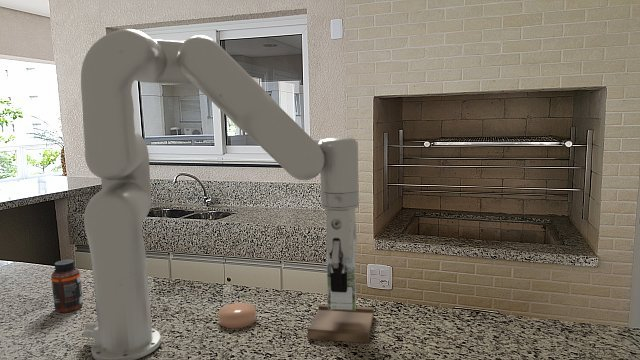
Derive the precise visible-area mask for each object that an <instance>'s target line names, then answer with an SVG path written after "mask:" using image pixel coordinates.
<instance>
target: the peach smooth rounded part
mask: <svg viewBox="0 0 640 360" xmlns="http://www.w3.org/2000/svg"><path fill="white" fill-rule="evenodd" d="M218 322H219V323H218V324H219V325H220V326H222V327H223V328H227V329H242V328H247V327H250V326H252V325H253V324H255V322H257V307H256V305H254V304H253V303H247V302H235V303H230V304H229V303H228V304H226V305H224V306H222V307H221V308H219V309H218Z"/></svg>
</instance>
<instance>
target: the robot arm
mask: <svg viewBox="0 0 640 360" xmlns="http://www.w3.org/2000/svg"><path fill="white" fill-rule="evenodd" d="M134 82H141V83H151V84H170V85H171V84H172V85H173V84H174V85H176V84H177V85H193V86H195V87H196V88H197V90H199V91H200V92H201V93H202V94H203V95H205V97H206V98H208V99H209V100H210V101H211V102H212V103H213V104H214V105H215V106H216V107H217V108H218V109H219V110H220V111H221V112H222V113H223V114H224V116H226V117H227V118H228V119H229V120H230V121H231V122H232V123H233V124H234V125H235V126H236V127H238V128H239V129H240V131H242V132H244V133H245V134H247V135H248V136H249V137H250V138H251V139H252V140H253V141H255V143H256V144H257V145H258V146H260V147H261V148H262V150H263V151H265V152H266V153H267V154H268V156H270V157H271V158H272V159H273V160H274V161H275V162H276V164H277V163H278V165H279V166H280V167H281V168H282V169H284V171H285V172H286V173H287V174H289V175H290V176H291V177H292V178H294V179H295V180H299V181H309V180H313V179H314V178H316V177H317V176H319V175H320V199H321V200H320V203H321V204H320V205H321V209H323V210H326V219H325V221H326V222H325V223H326V224H325V228H326V231H325V232H326V233H325V234H326V235H325V236H326V242H327V243H326V244H327V250H326V257H327V256H328V257H329V258H330V259H331V272H330V274H331V291H332V292H347V272H345V266H346V258H348V259H351V258H352V257H353V241H354V239H355V252H356V250H357V248H358V239H357V221H356V219H357V218H356V217H357V216H356V209H358V208H359V206H360V204H359V203H360V198H359V196H360V193H359V192H360V191H359V189H360V188H359V186H360V185H359V183H360V182H359V144H358V141H357V140H356V139H355V138H354V137H348V136H346V137H345V136H339V137H337V136H336V137H326V138H312V137H311V136H310V135H309V134H308V133H307V132H306V131H305V130H304V129H303V128H302V126H300V125H299V124H298V123H297V122H296V121H295V120H294V119H293V118H292V117H291V116H290V115H288V113H287V112H286V111H285V110H284V109H283V108H282V107H281V106H280V105H279V104H278V103H277V102H276V101H275V100H274V97H272V95H270V94H269V93H268V92H267V91H266V89H264V88H263V87H262V86H261V85H260V84H259V83H258V82H257V81H256V80H255V79H254V78H253V77H252V76H251V75H250V74H249V73H248V72H247V71H246V70H245V69H244V68H243V67H242V66H241V65H240V64H239V63H238V62H237V61H236V60H235V59H234V58H233V57H232V56H231V55H230V54H229V53H228V52H227V51H226V50H225V48H223V47H222V46H221V45H220V44H219V43H218V42H217V41H216V40H215V39H212V38H211V37H209V36H206V35H201V34H200V35H199V34H198V35H194V36H191V37H189V38H187V39H186V40H185V41H180V40H168V39H167V40H165V39H164V40H163V39H153V38H152V37H151V36H149V35H147V34H146V33H144V32H142V31H140V30H136V29H131V28H125V29H124V28H122V29H117V30H115V31H111V32H109V33H107V34H105V35H103V36H102V37H101V38H99V39H98V40H96V41H95V42H94V44H92V46H91V47H90V48H89V50H88V51H87V52H86V54H85V56H84V59H83V62H82V65H81V70H80V91H81V102H82V103H81V105H82V125H83V126H82V127H83V139H84V141H83V142H84V158H85V163H86V166H87V168H88V169H89V171H90V172H91V173H92V175H94V176H95V177H97V178H99V179H100V180H101V181H100V183H101V190H99V191H98V192H96V193H95V194H94V195H93V196H92V197H91V198H90V200H89V201H88V202H87V205H86V206H85V210H84V215H83V222H84V230H85V233H86V238H87V242H88V246H89V252H90V260H91V268H92V276H93V278H92V279H93V286H94V299H95V306H96V319H97V320H96V321H97V322H92V321H91V322H87V323H86V325H85V326H84V327H85V330H84V331H83V333H82V336H83V337H84V338H93V340H94V343H93V344H92V346H91V347H90V348H91V350H90V352H91V356H92V358H93V359H94V360H138V359H141V358H144V357H146V356H148V355H150V354H151V353H153V352H154V351H156V350H157V349H158V348H159V346H161V343H162V336H161V333H160V332H159V331H158V330H157V329H154V328H153V326H152V325H153V324H152V312H151V304H150V303H151V302H150V301H151V300H150V287H149V277H148V263H147V253H146V251H147V250H146V246H145V240H144V234H143V225H142V223H143V221H144V220H145V219H147V216H148V215H149V212H150V210H151V206H152V190H151V173H150V172H151V171H150V156H149V155H150V154H149V149H148V145H147V142H146V140H145V139H144V138H143V136H142V135H141V134H140V133H139V132H138V131H136V127H135V118H134V114H135V111H134V101H133V94H132V87H133V83H134ZM340 245H341V246H340ZM331 251H332V253H331ZM330 253H331V254H330ZM339 254H343V257H339ZM339 260H341V261H342V264H341V263H339Z"/></svg>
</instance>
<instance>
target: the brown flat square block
mask: <svg viewBox="0 0 640 360" xmlns="http://www.w3.org/2000/svg"><path fill="white" fill-rule="evenodd" d="M374 309H375V308H374V307H370V306H368V307H367V306H365V307H364V306H356V309H355V311H333V310H328V304H319V305H318V309H317V311H316V314H315V316H314V318H313V319H312V321H311V324H310V326H308V327H307V339H310V340H321V341H335V342H346V343H348V342H349V343H358V344H359V343H360V344H361V343H362V344H368V343H369V340H370V335H371V330H372V327H373V323H374V317H375V316H374V315H375V314H374V313H375V312H374Z"/></svg>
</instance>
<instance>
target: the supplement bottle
mask: <svg viewBox="0 0 640 360" xmlns="http://www.w3.org/2000/svg"><path fill="white" fill-rule="evenodd" d="M50 279H51V288H52V289H51V290H52V296H53V304H54V305H53V306H54V310H55V311H56V312H57V313H69V312H70V313H71V312H73V311H76V310H78V309H80V308H82V306H83V305H84V302H83V292H82V284H81V282H82V281H81V273H80V270H79V269H78V268H76V267H75V261H74V260H73V259H62V260H59V261H56V262H55V263H54V271H53V272H52V273H51V275H50Z"/></svg>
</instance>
